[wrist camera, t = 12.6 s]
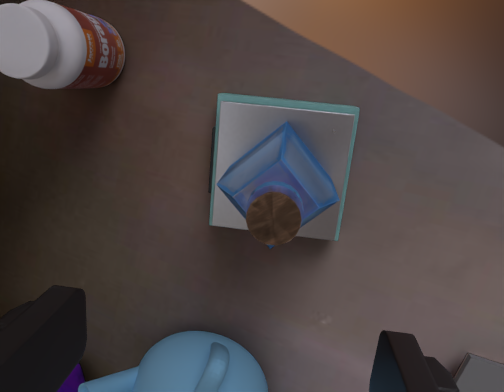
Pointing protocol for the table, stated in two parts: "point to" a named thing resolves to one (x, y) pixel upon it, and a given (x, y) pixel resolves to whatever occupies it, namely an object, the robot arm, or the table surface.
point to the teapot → (188, 368)
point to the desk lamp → (479, 375)
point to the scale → (281, 103)
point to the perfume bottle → (278, 187)
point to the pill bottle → (58, 46)
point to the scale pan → (309, 131)
